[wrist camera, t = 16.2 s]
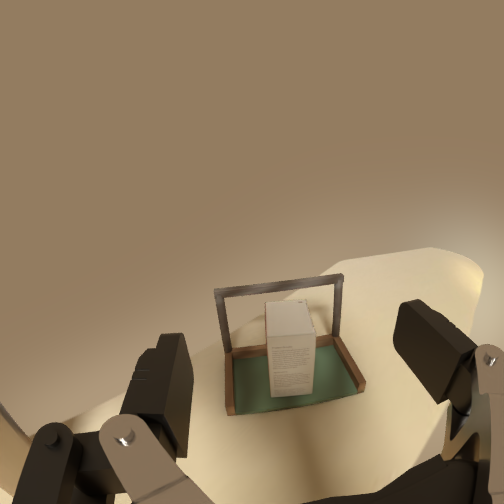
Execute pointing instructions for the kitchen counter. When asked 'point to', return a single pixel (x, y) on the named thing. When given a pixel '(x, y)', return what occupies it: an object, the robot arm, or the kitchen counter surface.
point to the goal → (256, 361)
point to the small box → (290, 347)
